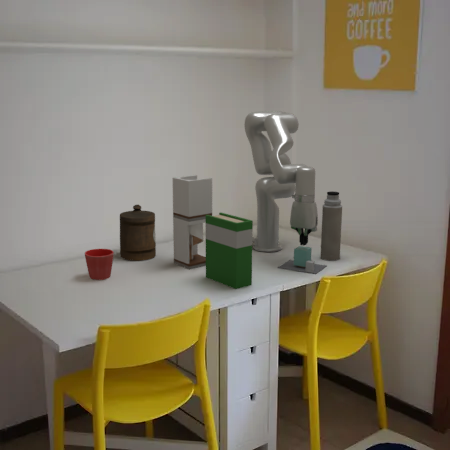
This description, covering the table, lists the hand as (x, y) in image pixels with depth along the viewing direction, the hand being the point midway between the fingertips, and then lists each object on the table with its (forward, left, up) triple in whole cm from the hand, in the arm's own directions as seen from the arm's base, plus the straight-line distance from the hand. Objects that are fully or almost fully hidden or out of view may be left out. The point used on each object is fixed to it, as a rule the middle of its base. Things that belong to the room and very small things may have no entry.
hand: (303, 244), depth 247 cm
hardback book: (-17, -30, -10) cm, 36 cm away
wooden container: (-66, -20, -10) cm, 70 cm away
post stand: (0, 0, -9) cm, 9 cm away
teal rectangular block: (0, 0, -8) cm, 8 cm away
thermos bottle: (+5, +18, -10) cm, 21 cm away
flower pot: (-61, -50, -10) cm, 80 cm away
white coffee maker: (-40, -18, -10) cm, 45 cm away
